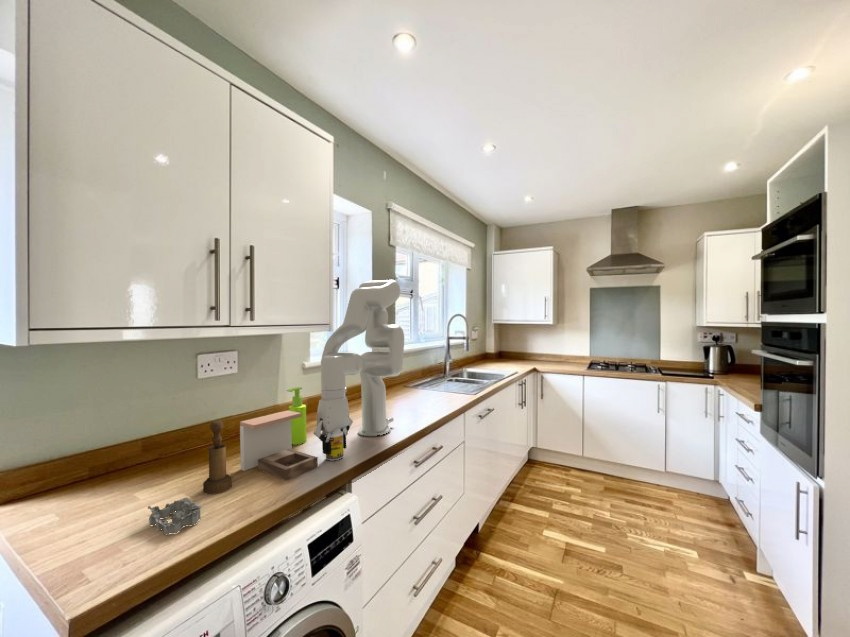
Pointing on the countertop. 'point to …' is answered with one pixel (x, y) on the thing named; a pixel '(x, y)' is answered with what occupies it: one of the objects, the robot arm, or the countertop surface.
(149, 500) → the countertop surface
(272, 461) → the socket block
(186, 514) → the egg carton
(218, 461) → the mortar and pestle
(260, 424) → the pink-topped white panel
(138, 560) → the countertop surface
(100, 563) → the countertop surface
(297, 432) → the soap dispenser
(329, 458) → the supplement bottle
